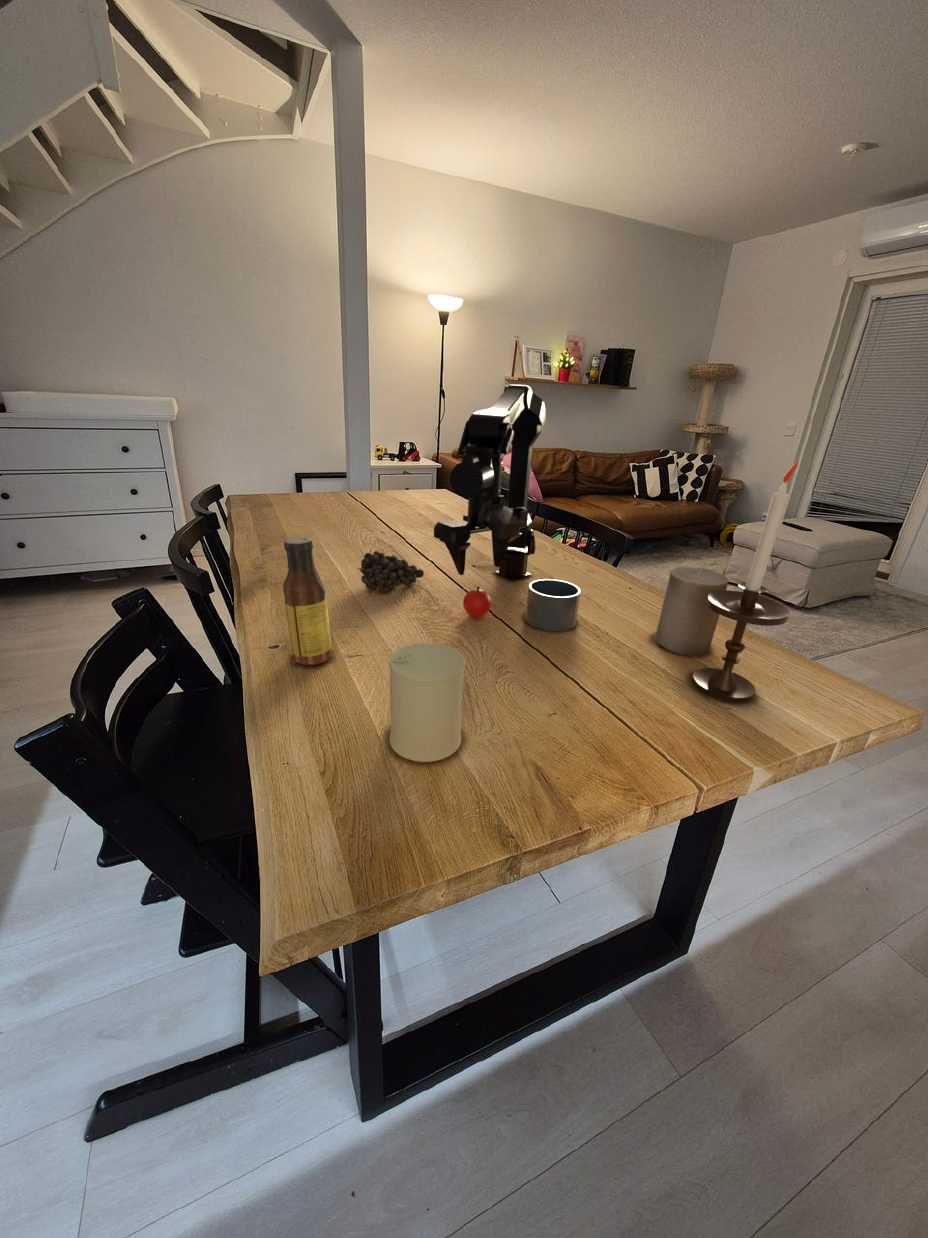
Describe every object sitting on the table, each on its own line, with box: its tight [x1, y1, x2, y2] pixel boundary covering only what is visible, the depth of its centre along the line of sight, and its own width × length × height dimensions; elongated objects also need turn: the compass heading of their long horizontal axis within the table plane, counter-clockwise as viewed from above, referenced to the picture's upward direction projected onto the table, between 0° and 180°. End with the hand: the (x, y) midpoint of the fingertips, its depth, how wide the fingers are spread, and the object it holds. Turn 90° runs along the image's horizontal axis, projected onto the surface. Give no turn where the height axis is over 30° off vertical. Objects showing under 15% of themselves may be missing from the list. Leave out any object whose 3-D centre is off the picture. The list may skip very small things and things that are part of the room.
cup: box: [524, 578, 582, 632], centre depth 99 cm, size 10×10×7 cm
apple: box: [462, 585, 492, 618], centre depth 100 cm, size 6×6×6 cm
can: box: [388, 642, 466, 763], centre depth 62 cm, size 9×9×12 cm
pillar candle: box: [654, 565, 730, 656], centre depth 91 cm, size 10×10×15 cm
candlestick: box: [691, 459, 799, 704], centre depth 73 cm, size 11×11×35 cm
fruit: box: [356, 550, 425, 593], centre depth 111 cm, size 9×8×15 cm
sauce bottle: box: [282, 536, 332, 666], centre depth 78 cm, size 7×6×20 cm
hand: (479, 570), depth 97 cm, fingers open, 9 cm apart
